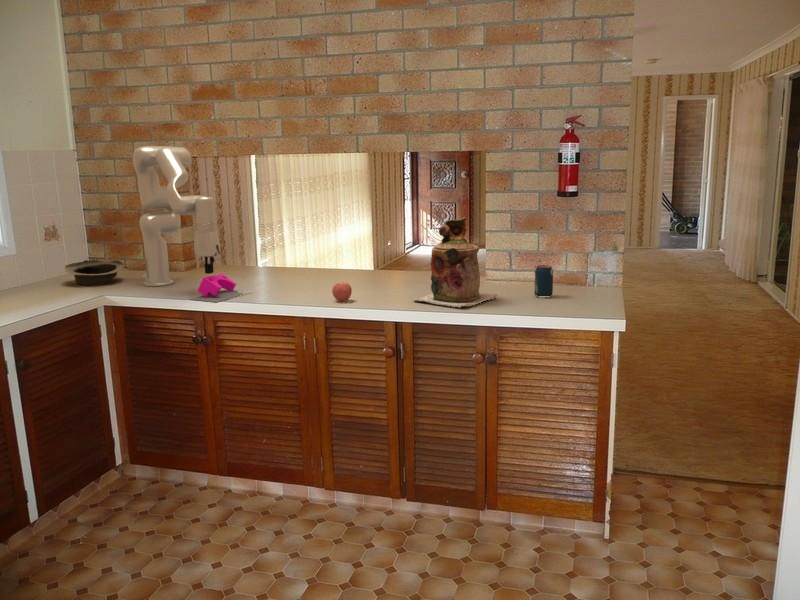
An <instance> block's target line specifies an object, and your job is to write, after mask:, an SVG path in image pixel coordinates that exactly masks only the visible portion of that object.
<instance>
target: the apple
mask: <svg viewBox="0 0 800 600" xmlns="http://www.w3.org/2000/svg"><path fill="white" fill-rule="evenodd" d="M331 289H332V290H331V291H332V295H333V297H334V299H335V300H336V301H337V302H340V303H341V302H346V301H348V300H349V299H350V298H351V297H352V286H351V285H350V284H349V283H348V282H344V281H343V280H342V282H338V283H335V284H334V285H333V287H332V288H331Z"/></svg>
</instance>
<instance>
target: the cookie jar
mask: <svg viewBox="0 0 800 600" xmlns="http://www.w3.org/2000/svg"><path fill="white" fill-rule="evenodd" d="M466 221H467V217H465V216H464V217H463V218H461V219H449V220H447V221H445V222H444V224H443V225H441V226H440V227H439V228H438V234H439V235H440V237H441V236H442V239H441V241H440V242H439V243H437V244H436V245H434V247H432V249H431V257H430V261H429V262H430V271H431V276H430V280H431V285H430V289H431V293H430V294H428V295H425V296H423V297H418V298H416V297H415V298H412V301H413V302H426V303H429V304H433V305H439V306H445V307H450V306H451V307H452V308H455V307H459V308H458V309H460V308H461V307H470V306H472V305H474V306H476V305H475V304H477V305H479V304H478V303H480V304H482V303H481V302H483V301H486V300H489V301H491V300H490V299H492V298H496V299H497V297H498V296H499V293H486V292H485V293H483V292H482V293H480V286H481V285H480V284H481V273H480V269H479V267H480V266H479V259H478V252H480V246H478V245H474V244H472V243H470V242H468V241H467V240H466V238H465V237H466V232H467V231H468V229H467V228H466V226H467V224H466ZM414 300H415V301H414ZM492 300H493V299H492ZM486 302H487V301H486ZM483 303H484V302H483ZM472 307H473V306H472Z"/></svg>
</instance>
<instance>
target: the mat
mask: <svg viewBox="0 0 800 600" xmlns="http://www.w3.org/2000/svg"><path fill="white" fill-rule="evenodd" d="M237 290H238V289H236V290H235V289H233V291H231V292H230V291H228V290H226V289H223V290H222V289H221V290H220V292H219V294H218V295H213V294H212V295H211V296H207V297H205V296H204V295H202V294H201V295H200V296H195V297H192V298H191V297H190V298H188V300H189V301H196V302H197V301H198V302H206V303H208V302H209V303H219V302H220V301H221V302H223V300H224V301H227V300H226V299H228V300H231V299H234V298H233V297H235V298H238V297H237V296H239V297H241V296H240V295H242V296H244V295H243V294H242V293H243V292H242V293H239V292H238V291H239V290H238V291H237ZM244 294H245V293H244ZM230 298H231V299H230ZM221 302H220V303H221Z"/></svg>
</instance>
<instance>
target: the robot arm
mask: <svg viewBox="0 0 800 600" xmlns="http://www.w3.org/2000/svg"><path fill="white" fill-rule="evenodd" d="M191 155H192V154H191V153H190V151H189V150H188V149H187V148H185V147H182V146H181V147H180V146H168V145H165V146H164V145H163V146H160V145H158V146H157V145H148V146H147V145H146V146H140V147H139V146H138V147H137V148H136V149H135V150H134V152H133V155H132V164H133V167H134V171H135V173H136V176H137V181H138V182H137V183H138V188H139V189H138V190H139V198H140V203H141V206H142V207H143V208H144V209H145V210H162V209H164V211H157V212H147V213H144V214H142V215H141V216H140V218H139V228H140V231H141V234H142V239H143V248H144V259H145V269H146V270H145V271H146V273H144V274H142V275H141V278H142V279H145V281H143V286H145V287H163V286H170V285H172V284H174V279H171V277H170V267H169V266H170V265H169V254H168V252H169V251H168V245H167V242H166V240H165V238H164V237H163V236H162V235H163V234H164V235H165V234H171V233H178V231H180V229H181V227H182V226H181V222H182V221H181V216H189V215H195V223H196V224H195V225H194V227H195V229H196V231H195V232H194V239H193V240H194V241H193V249H194V251H193V252H194V255H195V256H196V257H197V259H201V261H202V264H203V265H204V274H208V275H209V274H214V263H215V261H216V260H220V255H221V244H220V243H221V242H220V238H219V233H218V231H217V223H216V208H215V207H216V206H215V198H214V197H212V196H204V195H200V194H199V195H180V194H179V192H178V188H180V187H181V186H184V185H185V184H186V183H187V181H188V180H189V173H188V171H187V170H186V168H188V167H190V165H191V164H192V161H193V160H192V159H193V158H192V156H191ZM153 167H159V168H160V170H161V171H162V173H163V175H164V177H165V178H166V180H167V182H168V183H167V186H161V185H160V177H159V175H158V173H157V171H156V170H154V168H153Z"/></svg>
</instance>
